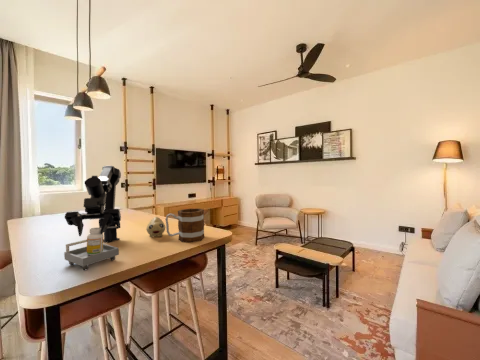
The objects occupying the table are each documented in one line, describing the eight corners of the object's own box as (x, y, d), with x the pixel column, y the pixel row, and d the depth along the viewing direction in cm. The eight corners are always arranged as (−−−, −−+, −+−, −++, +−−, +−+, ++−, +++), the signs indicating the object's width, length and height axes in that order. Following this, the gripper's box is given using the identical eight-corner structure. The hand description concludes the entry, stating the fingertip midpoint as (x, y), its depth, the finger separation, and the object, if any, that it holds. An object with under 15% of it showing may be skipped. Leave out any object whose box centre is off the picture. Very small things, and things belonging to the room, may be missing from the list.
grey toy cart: (64, 264, 87) (63, 244, 87) (99, 254, 99) (99, 236, 98) (83, 272, 80) (82, 250, 80) (119, 259, 91) (118, 240, 91)
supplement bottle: (93, 250, 93) (94, 226, 92) (106, 251, 92) (106, 227, 92) (83, 254, 87) (83, 229, 87) (96, 256, 87) (96, 231, 86)
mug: (203, 234, 128) (203, 207, 127) (205, 241, 115) (205, 211, 114) (167, 237, 123) (166, 209, 123) (164, 245, 110) (163, 214, 110)
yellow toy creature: (146, 240, 117) (145, 220, 117) (146, 235, 128) (146, 216, 128) (166, 238, 121) (165, 218, 120) (165, 233, 132) (164, 214, 132)
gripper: (65, 191, 89) (54, 225, 79) (118, 189, 95) (114, 220, 85) (73, 208, 96) (64, 241, 86) (122, 206, 103) (119, 236, 92)
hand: (90, 234), depth 87 cm, fingers open, 7 cm apart
